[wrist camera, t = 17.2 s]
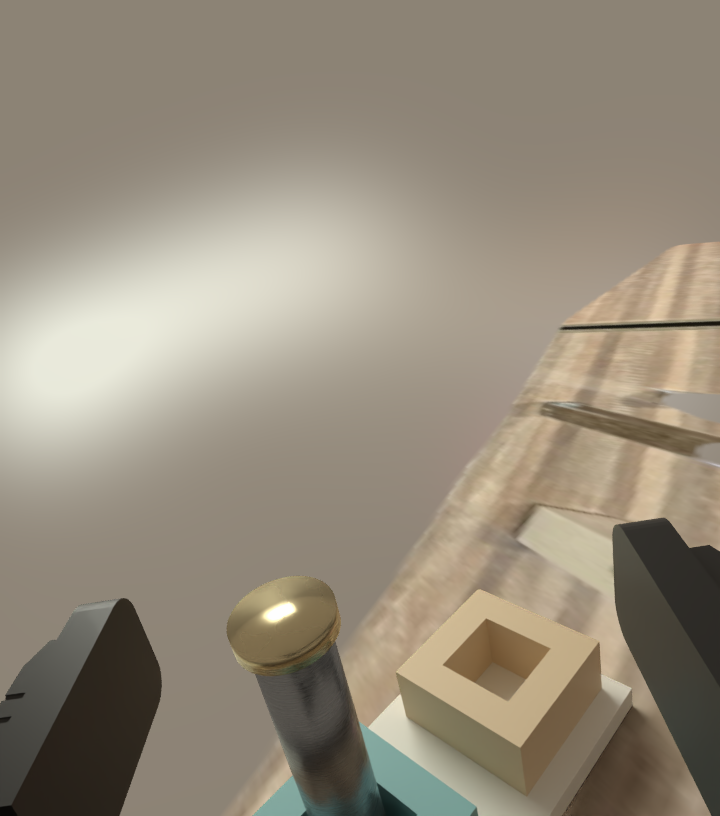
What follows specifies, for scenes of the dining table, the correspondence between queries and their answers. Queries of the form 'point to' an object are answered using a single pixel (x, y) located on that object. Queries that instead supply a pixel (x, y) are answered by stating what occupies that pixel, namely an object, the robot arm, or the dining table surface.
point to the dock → (489, 719)
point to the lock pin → (307, 692)
